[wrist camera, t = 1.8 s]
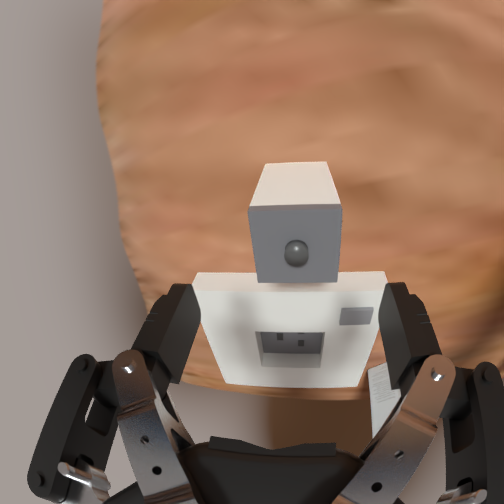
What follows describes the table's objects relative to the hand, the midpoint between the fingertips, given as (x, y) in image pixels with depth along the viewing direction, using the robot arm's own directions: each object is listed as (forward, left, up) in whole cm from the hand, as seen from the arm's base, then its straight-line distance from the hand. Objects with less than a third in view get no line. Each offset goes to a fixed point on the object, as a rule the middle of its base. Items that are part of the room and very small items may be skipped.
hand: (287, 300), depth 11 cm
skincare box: (-13, +27, -12) cm, 32 cm away
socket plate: (+1, +17, -12) cm, 21 cm away
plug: (0, 0, -12) cm, 12 cm away
